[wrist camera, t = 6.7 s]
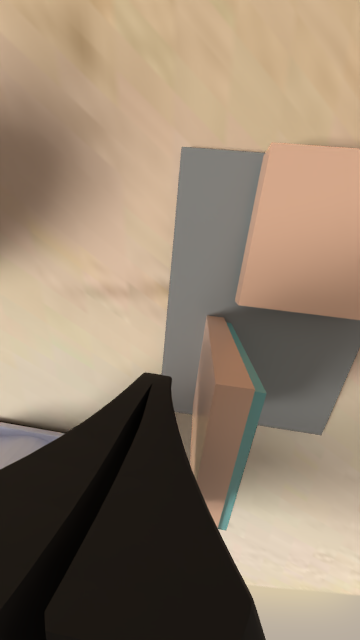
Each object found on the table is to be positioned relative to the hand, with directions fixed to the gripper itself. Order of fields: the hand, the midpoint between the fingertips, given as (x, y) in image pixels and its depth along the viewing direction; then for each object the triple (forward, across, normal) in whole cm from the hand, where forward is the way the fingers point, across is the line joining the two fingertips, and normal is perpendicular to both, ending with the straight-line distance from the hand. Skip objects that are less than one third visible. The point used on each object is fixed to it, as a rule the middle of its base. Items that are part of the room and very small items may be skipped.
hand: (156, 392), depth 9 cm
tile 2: (+2, -3, -7) cm, 9 cm away
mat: (+4, -5, -3) cm, 7 cm away
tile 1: (+3, -3, 0) cm, 4 cm away
